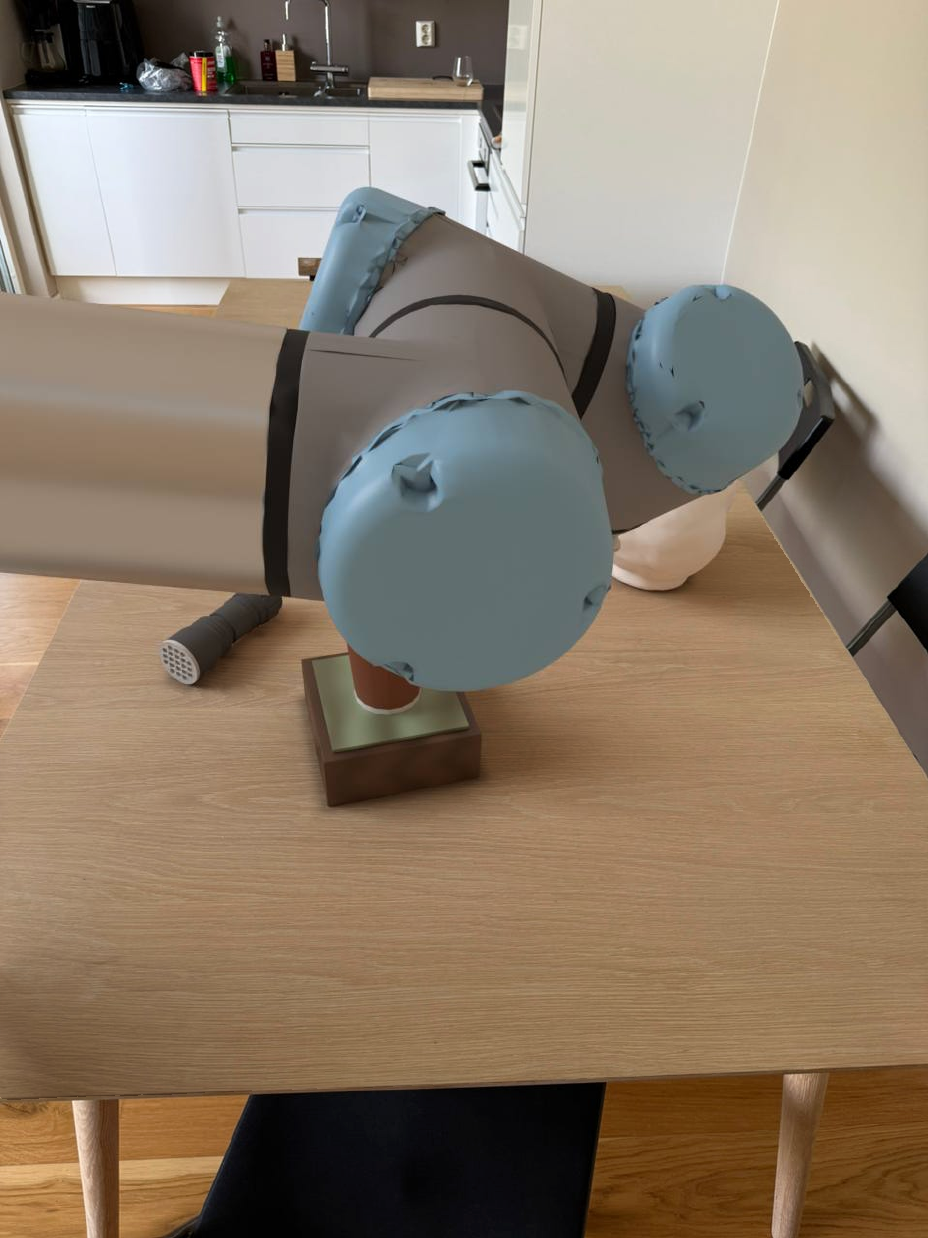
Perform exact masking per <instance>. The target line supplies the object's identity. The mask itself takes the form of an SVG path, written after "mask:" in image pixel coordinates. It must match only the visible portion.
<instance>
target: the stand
mask: <svg viewBox="0 0 928 1238" xmlns="http://www.w3.org/2000/svg"><path fill="white" fill-rule="evenodd" d="M301 670H302V671H301V672H302V680H303V689H304V691H303V692H304V699H305V705H306V709H307V714H308V720H309V724H310V729H311V734H312V739H313V744H314V748H315V752H316V758H317V763H318V767H319V772H320V776H321V777H320V778H321V781H322V786H323V790H324V795H325V800H326V804H327V807H333V806H338V805H344V804H348V803H353V802H359V801H364V800H369V799H375V798H380V797H384V796H390V795H394V794H400V793H405V792H411V791H416V790H421V789H425V788H431V787H435V786H441V785H446V784H451V783H457V782H461V781H467V780H472V779H476V778H480V776H481V775H480V774H481V772H480V771H481V759H482V758H481V757H482V739H483V733H482V731H481V728H480V726H479V723H478V721H477V718H476V717H475V714H474V712H473V709H472V707H471V705H470V703H469V700H468V696H467V695H466V693H465V692H466V691H461V692H459V691H441V690H434V689H427V688H423V687H421V691H420V696H419V700H418V701H417V702H416V703H415V704H414V705H413V707H411V708H409V709H407V710H405V711H404V712H402V713H396V714H391V715H385V714H375V713H373V712H370V711H368V710H366V709H364V708H363V707H362V706H361V705H360V704H359V703H358V702H357V699H356V696H355V688H354V683H353V677H352V671H351V665H350V659H349V653H348V651H347V652H339V653H333V654H327V655H321V656H320V655H319V656H313V657H308V658H302V659H301Z"/></svg>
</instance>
